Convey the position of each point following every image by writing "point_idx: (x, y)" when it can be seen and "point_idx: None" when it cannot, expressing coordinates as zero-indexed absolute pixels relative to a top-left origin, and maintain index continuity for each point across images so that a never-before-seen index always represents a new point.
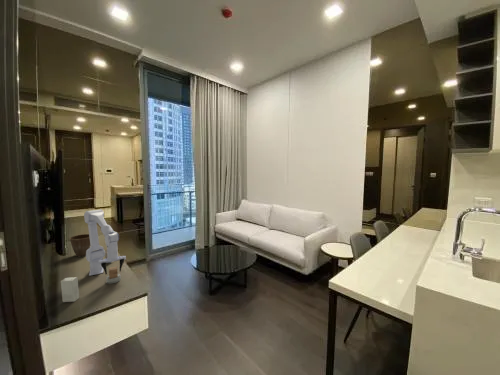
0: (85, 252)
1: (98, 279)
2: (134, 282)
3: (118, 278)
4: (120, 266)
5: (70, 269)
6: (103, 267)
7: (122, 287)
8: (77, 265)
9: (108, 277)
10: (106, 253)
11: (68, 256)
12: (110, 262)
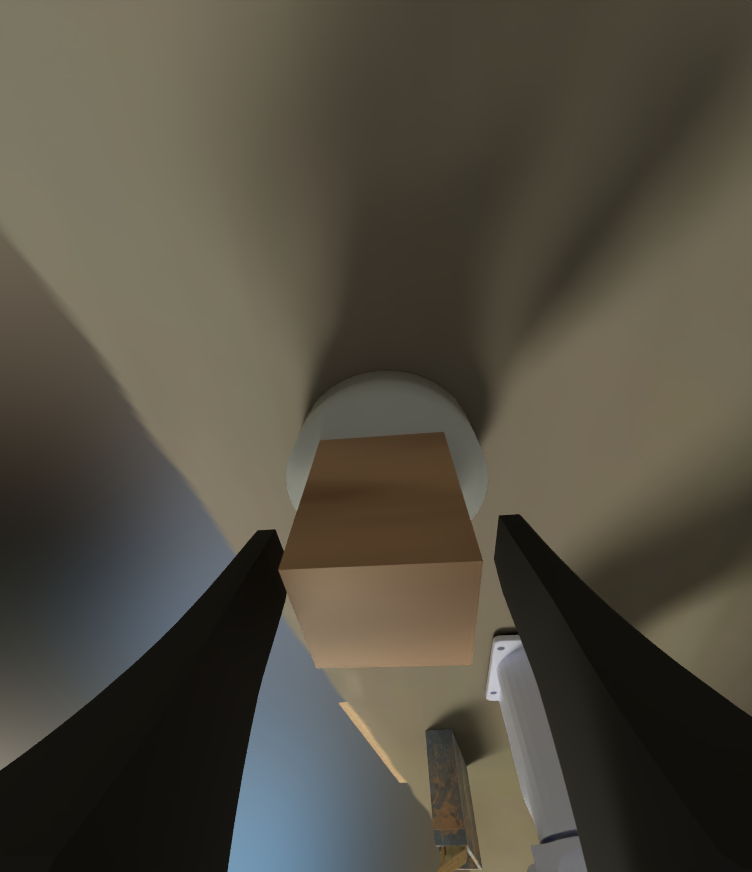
0: None
1: (546, 543)
2: (31, 231)
3: (309, 420)
4: (197, 633)
5: None
6: (718, 713)
7: (183, 78)
8: None
9: None
10: (473, 842)
11: None
12: (436, 735)
